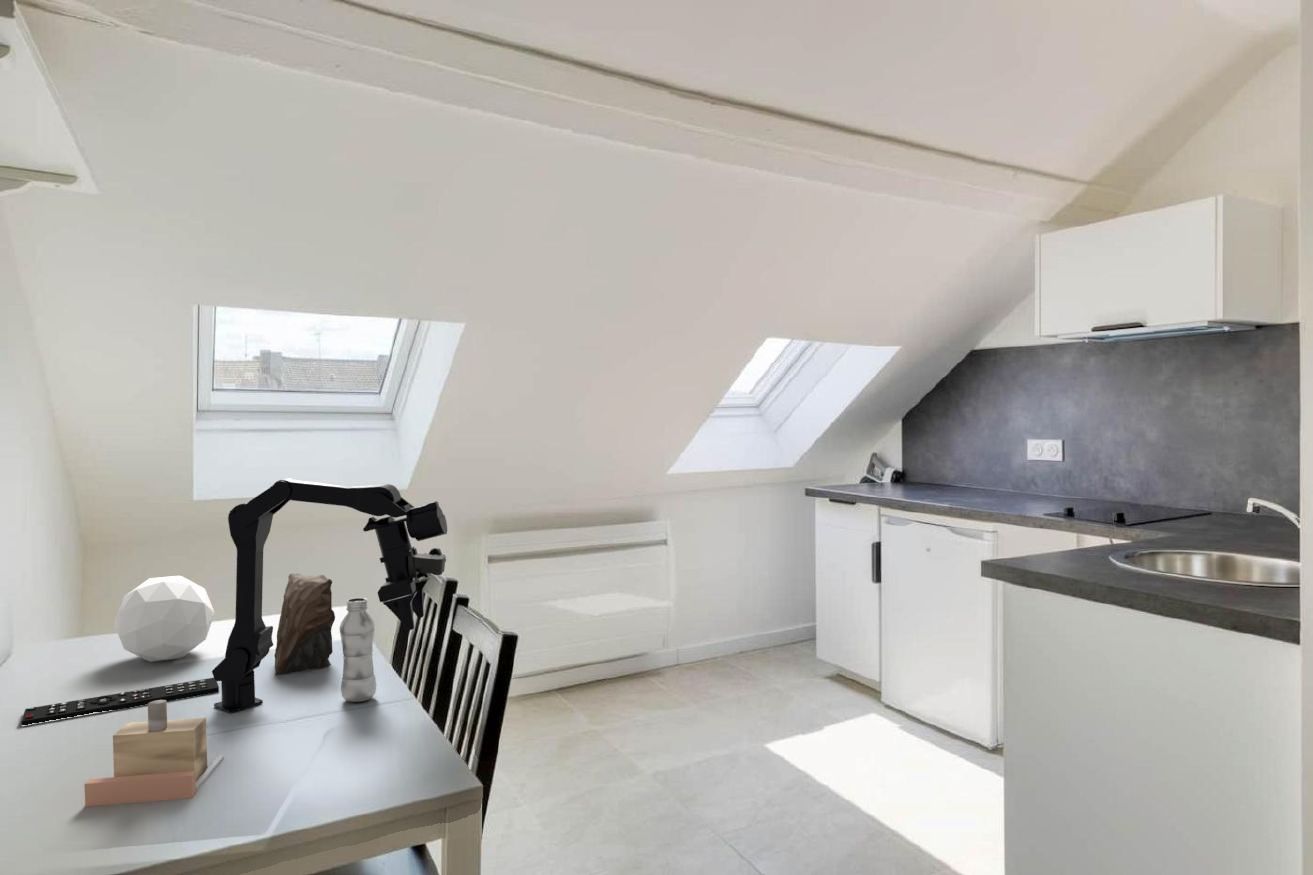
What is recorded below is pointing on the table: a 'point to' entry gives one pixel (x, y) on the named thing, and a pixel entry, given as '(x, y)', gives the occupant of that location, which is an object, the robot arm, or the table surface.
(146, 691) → the remote control
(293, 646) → the brown rock
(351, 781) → the table surface
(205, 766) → the plate
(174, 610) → the ball
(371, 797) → the table surface
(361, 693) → the plastic bottle
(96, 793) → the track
